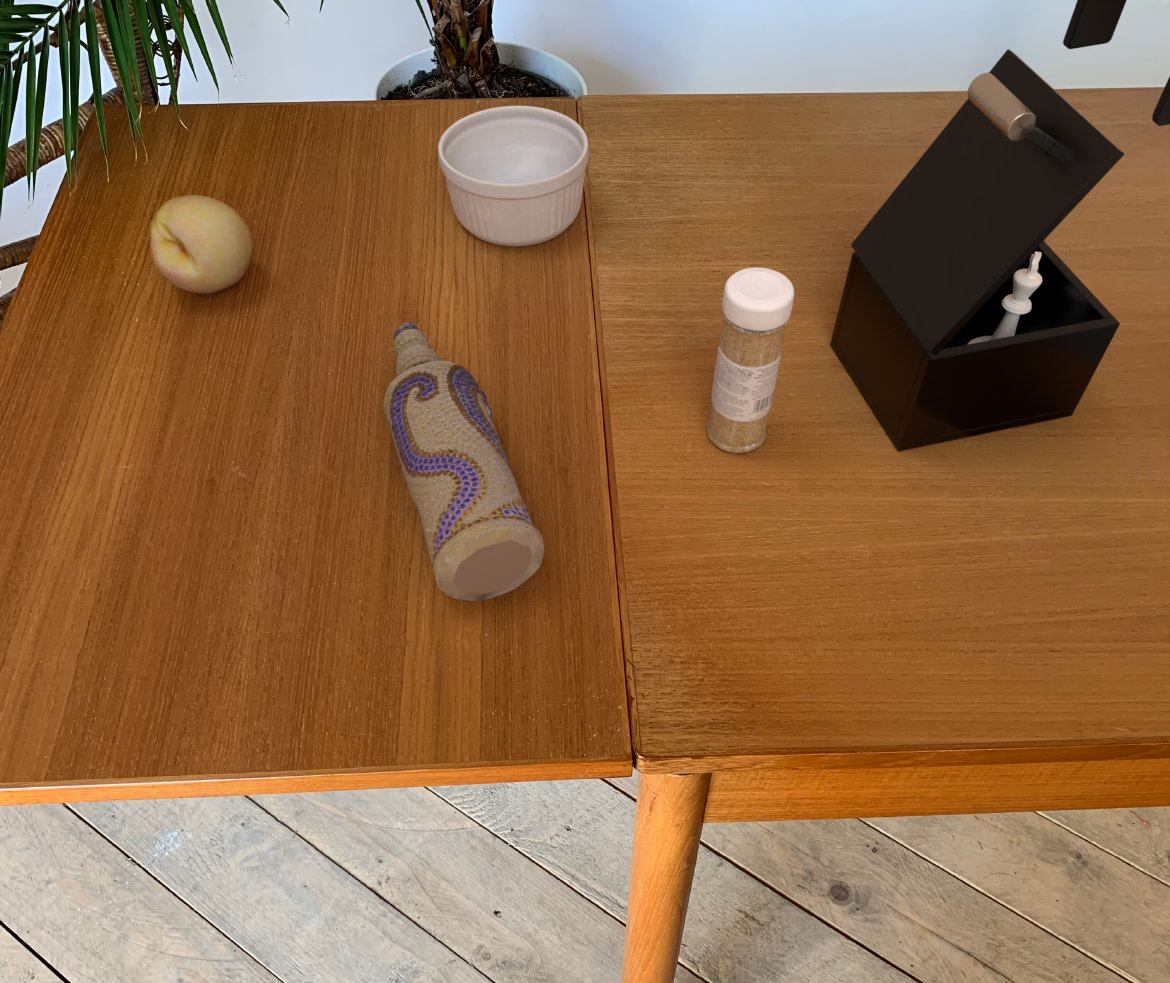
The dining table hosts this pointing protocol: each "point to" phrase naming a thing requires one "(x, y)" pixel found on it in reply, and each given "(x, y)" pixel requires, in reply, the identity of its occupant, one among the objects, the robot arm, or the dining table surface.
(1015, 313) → the chess piece
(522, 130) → the ramekin
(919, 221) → the bin lid
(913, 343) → the bin
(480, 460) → the decorative bottle
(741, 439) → the spice jar
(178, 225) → the fruit
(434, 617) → the dining table surface
